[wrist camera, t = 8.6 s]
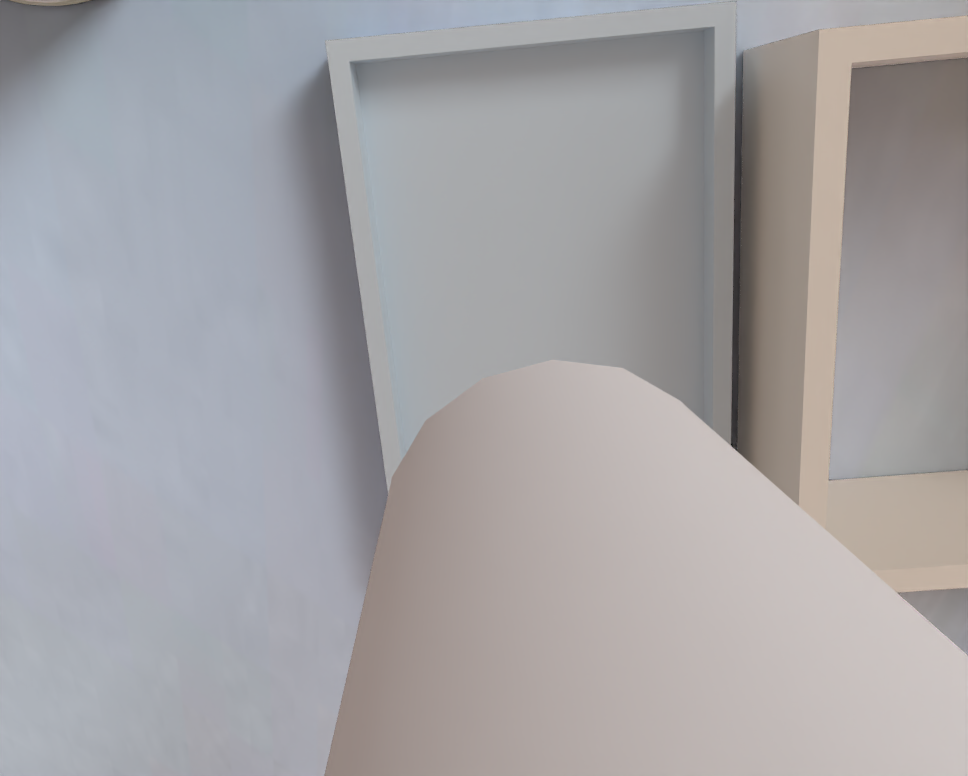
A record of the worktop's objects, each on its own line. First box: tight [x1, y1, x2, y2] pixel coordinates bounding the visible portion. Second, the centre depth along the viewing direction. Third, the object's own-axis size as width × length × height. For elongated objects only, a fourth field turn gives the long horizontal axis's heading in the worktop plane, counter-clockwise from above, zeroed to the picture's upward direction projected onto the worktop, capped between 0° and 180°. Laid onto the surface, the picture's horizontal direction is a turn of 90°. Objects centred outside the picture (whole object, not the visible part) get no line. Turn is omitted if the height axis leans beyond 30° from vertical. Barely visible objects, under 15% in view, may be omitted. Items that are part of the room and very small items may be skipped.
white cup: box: [324, 360, 968, 776], centre depth 9 cm, size 7×7×10 cm
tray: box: [325, 1, 737, 493], centre depth 26 cm, size 12×18×2 cm, turn 5°
